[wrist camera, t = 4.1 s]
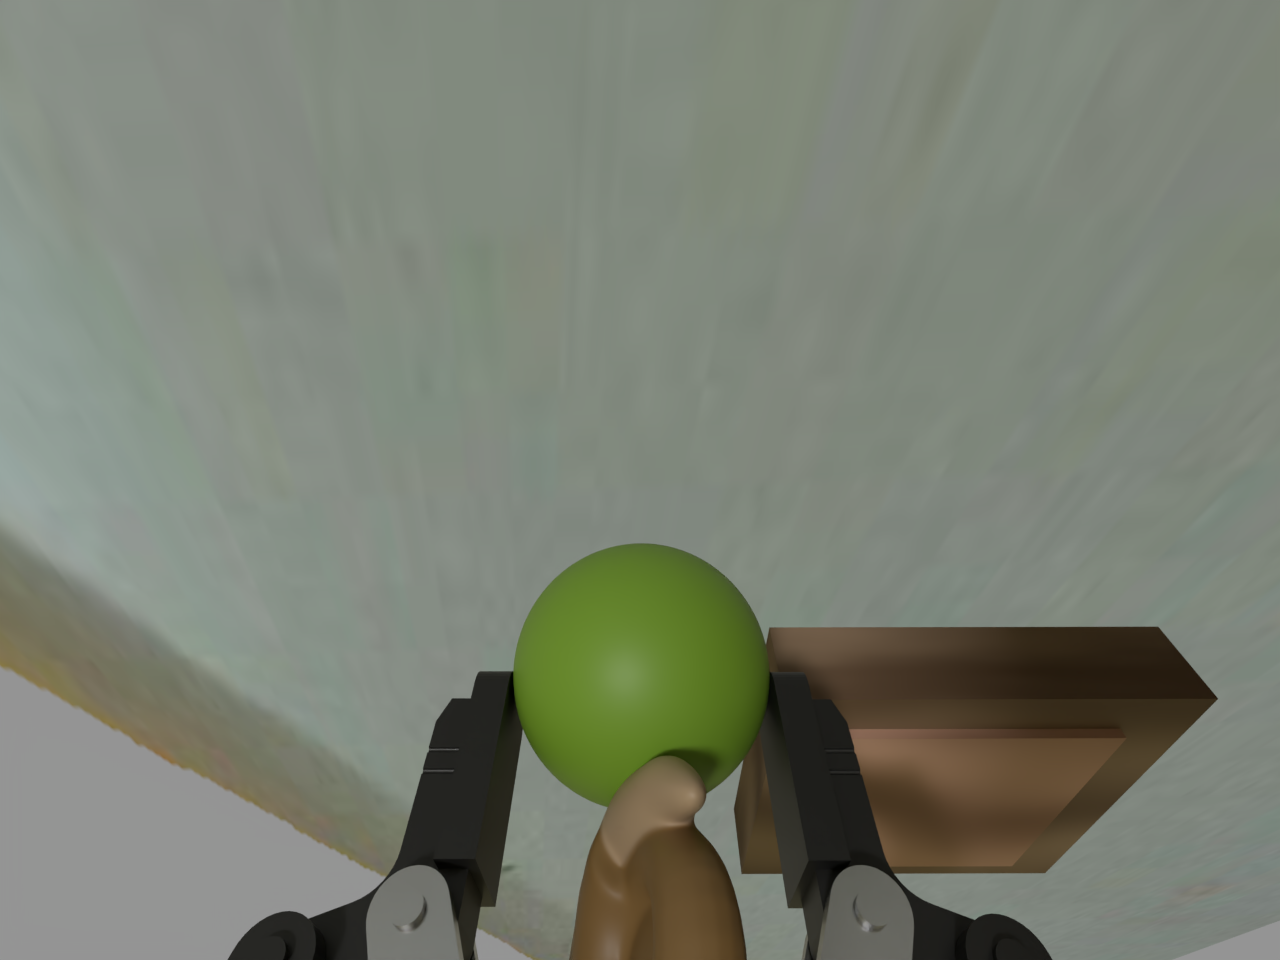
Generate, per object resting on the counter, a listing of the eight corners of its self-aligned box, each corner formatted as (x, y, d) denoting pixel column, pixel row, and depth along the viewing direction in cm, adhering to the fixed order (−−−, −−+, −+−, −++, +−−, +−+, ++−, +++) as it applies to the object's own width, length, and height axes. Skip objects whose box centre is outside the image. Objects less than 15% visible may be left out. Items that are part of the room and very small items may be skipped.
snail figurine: (506, 641, 17) (345, 1435, 8) (561, 467, 13) (378, 1609, 4) (688, 677, 18) (742, 1410, 9) (788, 525, 14) (1068, 1531, 5)
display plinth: (769, 627, 19) (786, 709, 17) (1158, 626, 19) (1226, 708, 17) (733, 808, 26) (742, 882, 24) (1014, 808, 26) (1049, 881, 24)
